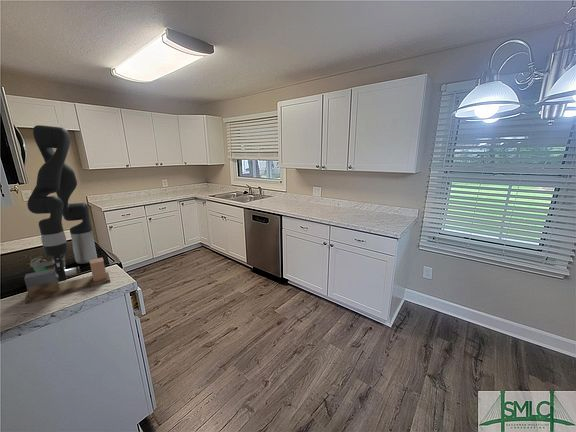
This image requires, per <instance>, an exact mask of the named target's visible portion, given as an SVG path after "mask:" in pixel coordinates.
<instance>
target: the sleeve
mask: <svg viewBox="0 0 576 432" xmlns="http://www.w3.org/2000/svg"><path fill="white" fill-rule="evenodd" d="M55 272H56V270H55V268H53V269H48V270H44V271H39V272H35V271H34V272H30V273H26V274H25V275H24V279H23V280H24V282H25V287H26V289H27V288H28V287H32V286H37V285H41V284H45V283H50V282H54V281H57V279H56V275H55Z"/></svg>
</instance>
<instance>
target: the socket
mask: <svg viewBox="0 0 576 432" xmlns="http://www.w3.org/2000/svg"><path fill="white" fill-rule="evenodd" d="M89 265H90V270H91V276H93V281H98V280H102V279H106V278H107V276H106V272H107V271H106V266H105V262H104V258H103V257H97V259H93V260H90V262H89Z"/></svg>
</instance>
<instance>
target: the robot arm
mask: <svg viewBox="0 0 576 432" xmlns="http://www.w3.org/2000/svg"><path fill="white" fill-rule="evenodd" d="M32 135H33V138H34V141H35V143H36V146H37V148H38V150H39V152H40V154H41V156H42V158H43V161H44V163H43V164H42V165H41V166H40V168H39V169H38V172H37V176H36V177H37V178H36V185H35V186H34V189H33V190H32V192H31V194H30V196H29V197H28V199H27V203H26V205H27V210H28V211H29V212H31V213H32V214H36V215H39V214H41V215H42V214H44V215H46V214H50V216H49V217H48V218H44V219H41V220H39V221H38V228H39V233H40V236H41V237H40V239H41V243H42V247H43V251H44V255H45V256H47V257H48V256H49V257H51V256H52V259H51V260H52V262H53V263H54V268H55V270H56V274H58V276H59V278H58V281H59V282H66V281H67V277H68V276H66V275H65V270H66V255H65V253H67V252H69V246H68V241H67V236H66V233H65V231H64V227H63V219H64V220H65V221H66V222H67V221H68V222H72V221H81V222H80V223H78V224H75V225H73V226H71V227H70V228H69V233H70V238H71V243H72V251H73V255H74V261H75V262H76V264H81V265H83V264H90V260H93V259H97V258H98V254H97V250H96V249H97V248H96V245H95V238H94V234H93V233H94V232H93V229H92V225H91V218H90V210H89V206H88V204H87V203H85V202H78V203H77V202H73V203H69V200H70V198H71V196H72V194H73V192H74V191H75V190H76V189H77V187H78V180H77V177H76V173H75V172H74V170H73V168H72V167H71V166H69V164H67V163H66V160H67V156H68V153H69V149H70V147H71V146H70V145H71V136H70V133H69V130H68V129H66V128H64V127H58V126H52V125H51V126H49V125H41V124H40V125H38V124H36V125H35V126H33V129H32ZM54 149H55V150H54ZM54 193H56V195H54V196H53V195H52V196H51V194H54Z"/></svg>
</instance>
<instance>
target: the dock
mask: <svg viewBox="0 0 576 432" xmlns="http://www.w3.org/2000/svg"><path fill="white" fill-rule="evenodd" d="M106 276H107V278H106V279H102V280H98V281H93V276H92V275H90V276H86V277H81V278H77V279H73V280H69V281H63V282H60V281H59V278H56V279H57V281H54V282H50V283H45V284H41V285H37V286H32V287H28V288H27V287H26V290H27V294H26V297H25V300H24V302H25V304H26V305H27V304H30V303H31V304H32V303H34V302H38V301H42V300H46V299H49V298H53V297H57V296H61V295H65V294H69V293H73V292H76V291H80V290H85V289H88V288H91V287H95V286H99V285H103V284H104V285H105V284H107V282H108V283H110V282H111V279H110V275H109V272H108V271H106Z"/></svg>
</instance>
